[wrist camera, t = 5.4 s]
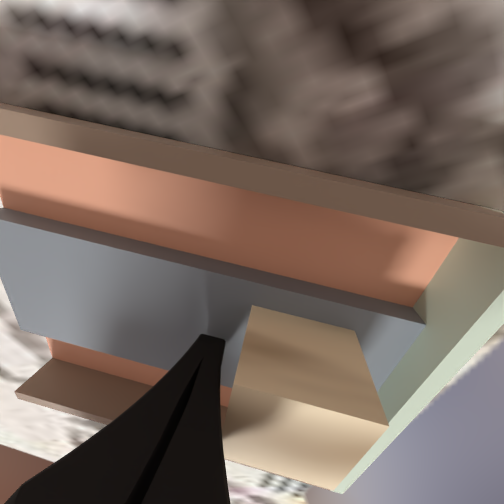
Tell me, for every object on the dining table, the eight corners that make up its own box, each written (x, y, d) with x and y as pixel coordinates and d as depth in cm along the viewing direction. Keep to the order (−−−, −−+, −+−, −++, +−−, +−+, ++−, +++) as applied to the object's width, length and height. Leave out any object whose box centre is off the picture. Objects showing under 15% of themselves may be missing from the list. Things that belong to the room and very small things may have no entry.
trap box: (333, 438, 17) (342, 494, 14) (58, 361, 18) (17, 398, 15) (494, 209, 9) (586, 235, 6) (-24, 97, 10) (-140, 77, 7)
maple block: (320, 393, 13) (333, 490, 9) (236, 370, 13) (216, 456, 9) (354, 330, 10) (389, 426, 7) (252, 304, 11) (233, 383, 7)
